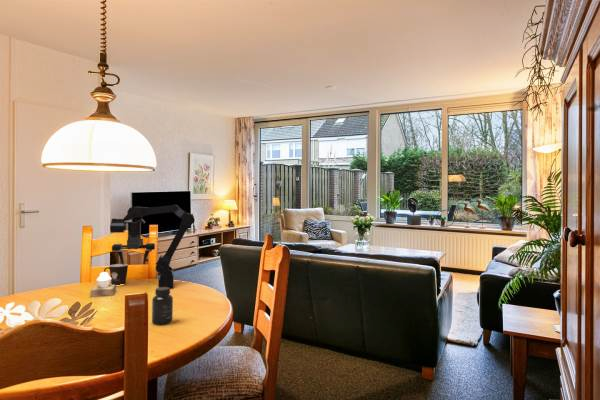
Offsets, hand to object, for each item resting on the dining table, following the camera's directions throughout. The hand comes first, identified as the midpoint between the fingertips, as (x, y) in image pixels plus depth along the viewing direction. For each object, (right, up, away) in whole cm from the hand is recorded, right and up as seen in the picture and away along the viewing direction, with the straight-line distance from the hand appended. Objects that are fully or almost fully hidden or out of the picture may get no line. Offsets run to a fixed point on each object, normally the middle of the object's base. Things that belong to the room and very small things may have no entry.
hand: (133, 264), depth 175 cm
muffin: (-9, -9, -10) cm, 16 cm away
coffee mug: (-13, -12, +10) cm, 21 cm away
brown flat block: (-9, -12, -10) cm, 18 cm away
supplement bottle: (+32, -12, -48) cm, 59 cm away
